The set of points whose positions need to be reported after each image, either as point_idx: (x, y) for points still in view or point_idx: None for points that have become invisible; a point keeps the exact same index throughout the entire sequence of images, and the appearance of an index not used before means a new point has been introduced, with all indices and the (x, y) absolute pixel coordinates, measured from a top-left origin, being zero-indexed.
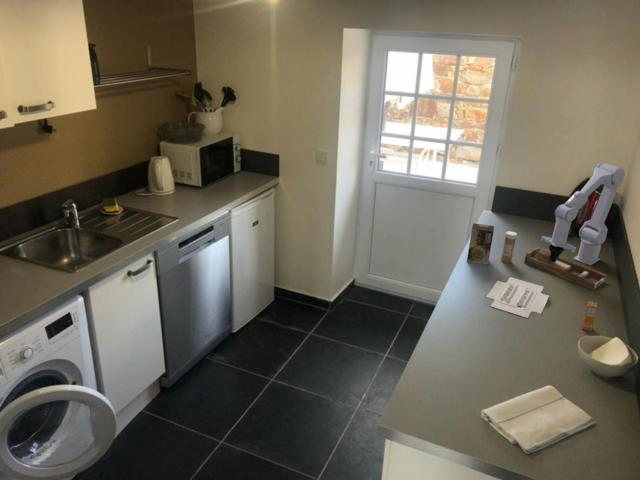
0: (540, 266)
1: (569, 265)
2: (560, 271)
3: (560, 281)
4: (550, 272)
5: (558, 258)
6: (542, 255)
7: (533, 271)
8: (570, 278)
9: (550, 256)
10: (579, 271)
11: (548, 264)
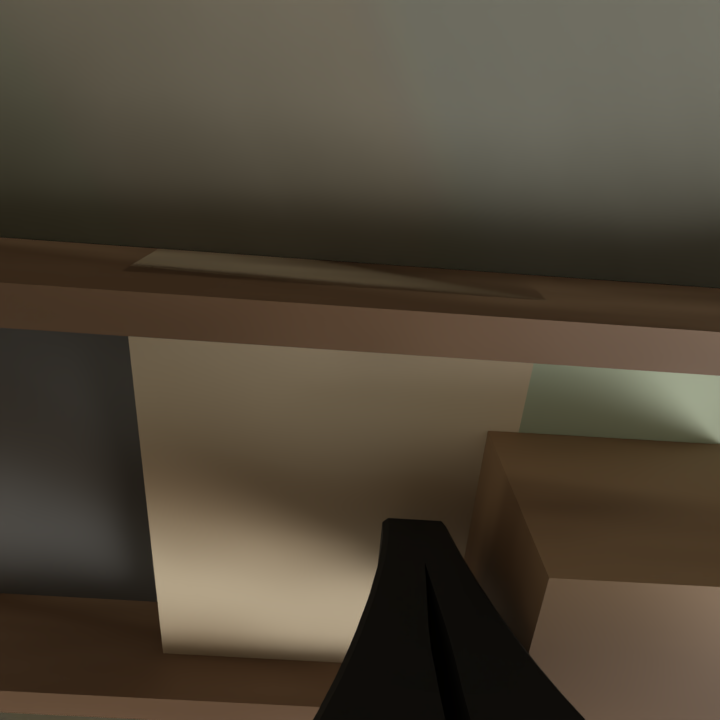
0: (566, 292)
1: (184, 635)
2: (113, 276)
3: (24, 51)
4: (336, 264)
5: None
6: (699, 538)
7: (625, 53)
8: None
9: (511, 609)
10: (43, 604)
11: (433, 340)
